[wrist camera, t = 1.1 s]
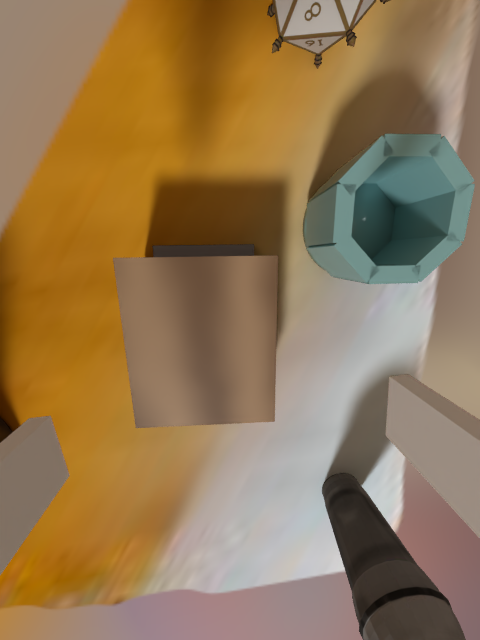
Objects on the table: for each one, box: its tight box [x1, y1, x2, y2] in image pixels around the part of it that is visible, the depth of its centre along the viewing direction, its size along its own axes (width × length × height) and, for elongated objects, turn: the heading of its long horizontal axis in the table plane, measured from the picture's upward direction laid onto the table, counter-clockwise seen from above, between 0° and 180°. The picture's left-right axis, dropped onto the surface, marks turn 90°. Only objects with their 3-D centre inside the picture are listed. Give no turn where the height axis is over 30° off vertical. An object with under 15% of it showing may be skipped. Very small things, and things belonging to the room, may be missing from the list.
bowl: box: [303, 134, 475, 284], centre depth 20 cm, size 9×9×7 cm
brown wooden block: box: [113, 255, 278, 428], centre depth 21 cm, size 11×13×6 cm
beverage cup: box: [322, 473, 466, 640], centre depth 21 cm, size 7×7×20 cm
